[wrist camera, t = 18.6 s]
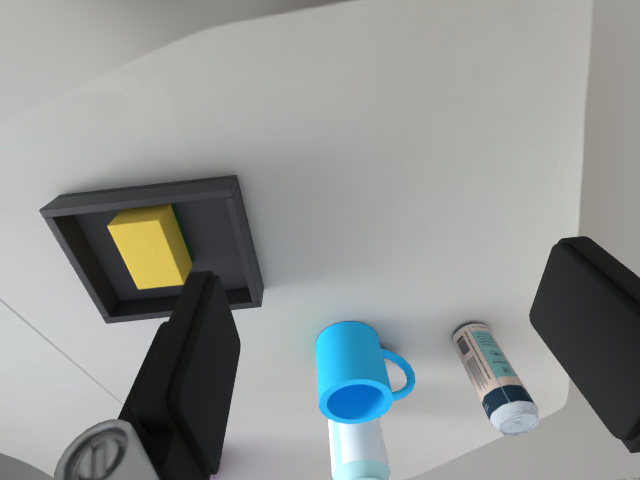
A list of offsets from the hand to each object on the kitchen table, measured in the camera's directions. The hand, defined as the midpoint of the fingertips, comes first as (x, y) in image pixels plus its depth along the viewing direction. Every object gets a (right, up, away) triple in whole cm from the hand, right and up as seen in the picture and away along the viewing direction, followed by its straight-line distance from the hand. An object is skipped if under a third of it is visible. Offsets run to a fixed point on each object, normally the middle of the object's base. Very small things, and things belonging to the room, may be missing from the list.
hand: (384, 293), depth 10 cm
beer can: (+17, -10, +35) cm, 41 cm away
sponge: (-17, +2, +24) cm, 30 cm away
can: (+3, -21, +41) cm, 47 cm away
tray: (-17, +1, +26) cm, 31 cm away
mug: (+4, -12, +35) cm, 38 cm away
